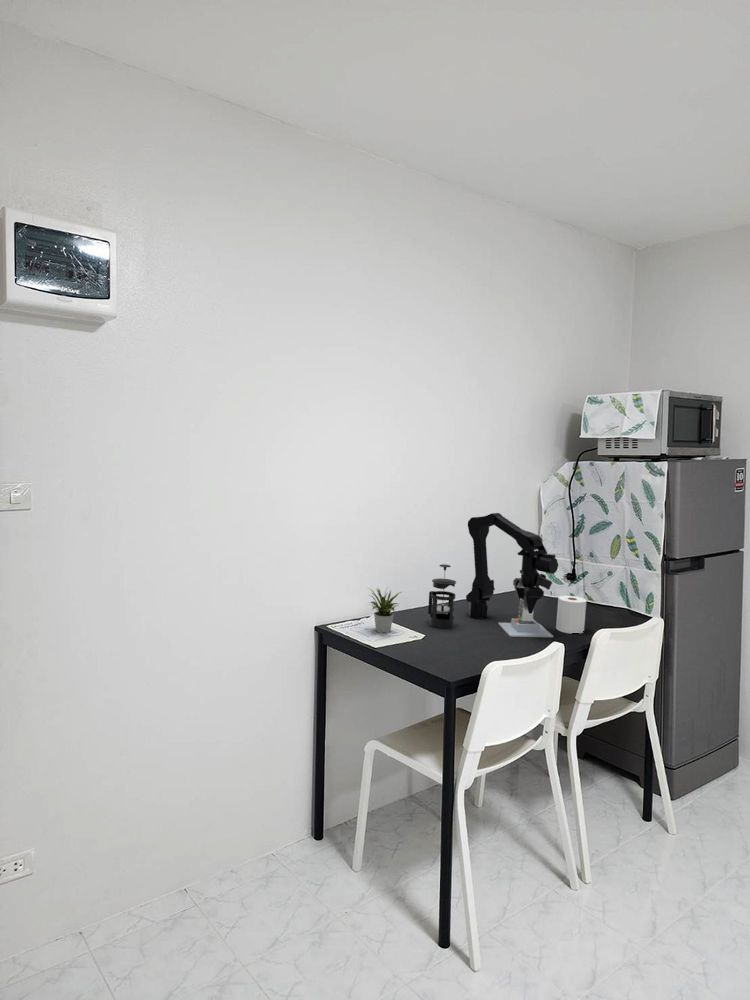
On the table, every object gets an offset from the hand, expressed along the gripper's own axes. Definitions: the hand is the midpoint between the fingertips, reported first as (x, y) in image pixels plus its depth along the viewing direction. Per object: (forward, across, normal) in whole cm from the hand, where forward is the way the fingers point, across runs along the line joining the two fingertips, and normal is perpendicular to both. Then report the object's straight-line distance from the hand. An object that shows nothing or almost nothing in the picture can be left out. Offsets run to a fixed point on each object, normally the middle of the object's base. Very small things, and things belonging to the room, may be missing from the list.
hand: (526, 610), depth 263 cm
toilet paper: (+8, +2, -18) cm, 20 cm away
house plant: (+8, -4, +55) cm, 56 cm away
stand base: (+8, 0, 0) cm, 8 cm away
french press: (+8, +5, +31) cm, 32 cm away
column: (+4, 0, 0) cm, 4 cm away
